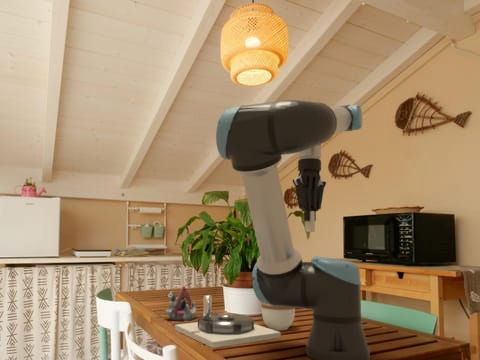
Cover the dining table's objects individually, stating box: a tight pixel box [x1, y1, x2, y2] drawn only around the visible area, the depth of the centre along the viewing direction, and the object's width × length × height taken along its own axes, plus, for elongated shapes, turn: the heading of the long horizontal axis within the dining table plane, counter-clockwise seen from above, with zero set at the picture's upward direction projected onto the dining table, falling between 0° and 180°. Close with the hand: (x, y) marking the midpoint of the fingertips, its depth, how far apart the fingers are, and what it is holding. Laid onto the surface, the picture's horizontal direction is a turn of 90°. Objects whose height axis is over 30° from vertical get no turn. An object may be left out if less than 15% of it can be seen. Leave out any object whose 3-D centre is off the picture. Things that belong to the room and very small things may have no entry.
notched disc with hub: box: [197, 294, 255, 334], centre depth 123 cm, size 16×17×9 cm
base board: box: [174, 321, 282, 349], centre depth 122 cm, size 24×22×2 cm
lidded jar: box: [260, 302, 296, 332], centre depth 130 cm, size 11×11×9 cm
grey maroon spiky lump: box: [163, 285, 198, 322], centre depth 144 cm, size 11×11×12 cm
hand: (310, 231), depth 132 cm, fingers closed
